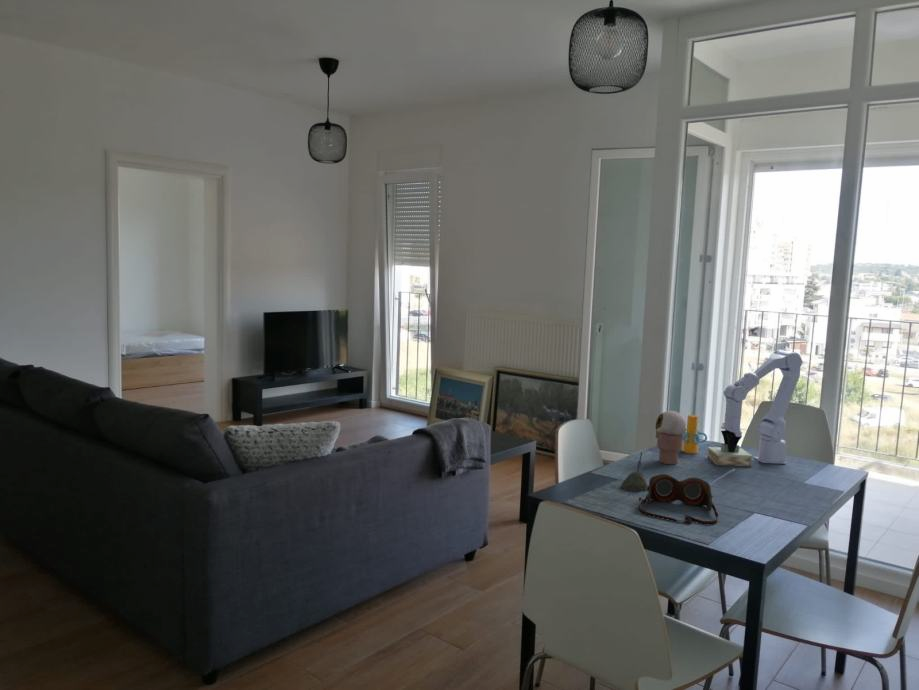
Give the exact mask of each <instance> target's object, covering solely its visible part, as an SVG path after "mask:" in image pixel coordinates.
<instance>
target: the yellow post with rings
mask: <svg viewBox="0 0 919 690" xmlns="http://www.w3.org/2000/svg"><path fill="white" fill-rule="evenodd" d="M686 421H687V422H686V429H685V431H684V433H683V439H682V448H681V450H682V452H683V453H686V454H698V451H699V443H702V444H703V443H705V442H707V440H708V436H707V434H706V433H705V432H702V431H701V432H700V431H699V430H698V422H699V416H698V415H696V414H687V420H686ZM700 435H703V436H704V439H703V440H700Z"/></svg>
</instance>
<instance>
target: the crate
mask: <svg viewBox="0 0 919 690" xmlns="http://www.w3.org/2000/svg"><path fill="white" fill-rule="evenodd" d="M707 450H708V449H707ZM707 459H708V460H710V461H711V462H712V463H713V464H715V465H716V466H730V467H731V466H733V467H734V466H736V467H751V466H752V458H750V457H726V456H716V455H715V454H714V453H712V452H711V451H710V450H708V451H707Z"/></svg>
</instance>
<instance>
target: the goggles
mask: <svg viewBox="0 0 919 690" xmlns="http://www.w3.org/2000/svg"><path fill="white" fill-rule="evenodd" d="M647 486H648V488H647V490H646V492H648V493H646V495H645V498H644V499H643V498H642V497H638V498H639V499H638V501H639V503H638V504H637V510H638V512H640V514H642V513H643V514H642V515H644V514H646V515H645V516H648V515H650V516H649V517H652V516H655V517H654V518H656V517H659V518H658V519H660V518H664V519H663V520H665V519H669V520H668V521H670V520H673V521H672V522H674V521H678V522H677V523H679V522H681V523H680V524H685V523H687V524H686V525H692V522H693V521H694V522H693V523H696V522H698V523H697V524H700V523H701V525H707V524H709V525H715V524H717V521H718V517H719V514H718V511H717V508H716V506H715V504H714V502H713V497H714V496H713V494H712V488H711V485H710V483H708V482H707V481H705V480H703V479H701V478H699V477H688V478H686V479H683V480H678V479H676V478H675V477H673V476H672V475H669V474H665V473H663V474H662V473H661V474H658V475H654V476H651V478H649V482H648V485H647ZM651 501H654V502H661V503H668V502H670V503H673V502H676V501H680V502H681V503H682V504H684V505H688V506H692V507H693V506H695V507H703V506H704V507H705V506H706V509H707V511H708V512H711V511H712V510H713V512H714V516H715V519H713V520H704V519H700V518H699V519H698V518H696V517H692V516H690V515H686V514H685V516H684V519H679V518H676V517H675V518H674V517H671V516H665V515H660V514H656V513H653V512H649V511H647V510H644V509H642V508H641V507H642V506H643V504H646V502H647V504H648V505H650V504H651ZM685 519H686V520H685Z"/></svg>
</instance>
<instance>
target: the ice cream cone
mask: <svg viewBox="0 0 919 690" xmlns="http://www.w3.org/2000/svg"><path fill="white" fill-rule="evenodd" d="M685 429H687V422H686V419H685V418H684V416H683V415H682V414H681V413H679V412H678V411H675V410H665V411H663V412H661V413H660V414H659V415H658V417H657V419H656V422H655V430H656V431H655V432H656V434H655V439H656V446H657V449H659V454H658V462H659V463H661V464H665V465H676V464H677V463H678V457H679V452H680V451H681V450H682V448H683V440H682V439H683V433H684V431H685Z"/></svg>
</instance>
